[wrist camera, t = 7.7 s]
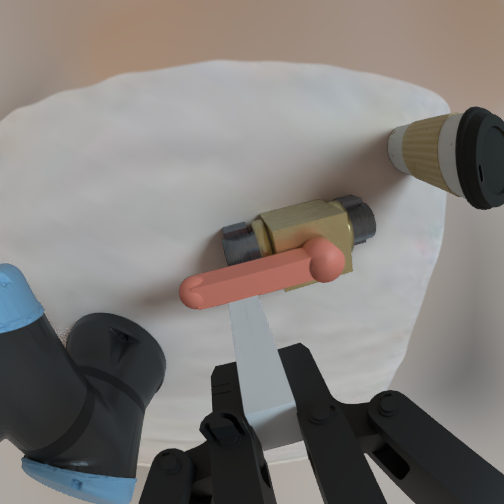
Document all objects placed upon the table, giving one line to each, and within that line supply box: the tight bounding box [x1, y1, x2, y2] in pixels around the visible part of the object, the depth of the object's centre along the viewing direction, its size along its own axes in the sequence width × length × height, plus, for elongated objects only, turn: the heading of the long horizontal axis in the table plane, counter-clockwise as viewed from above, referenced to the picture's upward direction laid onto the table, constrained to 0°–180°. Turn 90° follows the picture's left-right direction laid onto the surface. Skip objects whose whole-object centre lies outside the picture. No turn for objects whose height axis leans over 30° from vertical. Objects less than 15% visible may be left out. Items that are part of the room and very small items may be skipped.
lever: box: [179, 237, 345, 310], centre depth 23 cm, size 14×3×3 cm, turn 103°
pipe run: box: [222, 195, 376, 292], centre depth 28 cm, size 16×6×8 cm, turn 104°
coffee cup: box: [388, 107, 504, 210], centre depth 22 cm, size 10×10×15 cm
